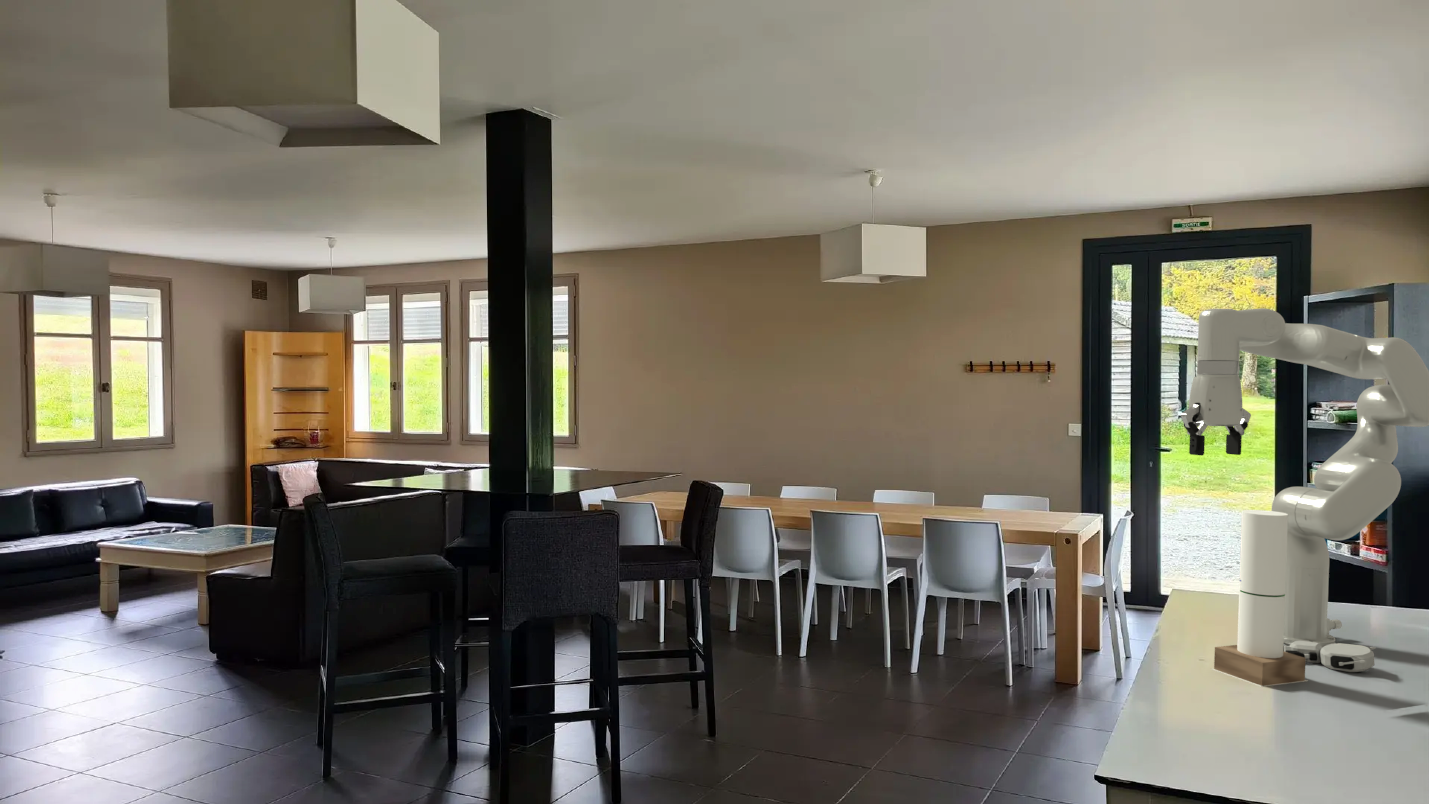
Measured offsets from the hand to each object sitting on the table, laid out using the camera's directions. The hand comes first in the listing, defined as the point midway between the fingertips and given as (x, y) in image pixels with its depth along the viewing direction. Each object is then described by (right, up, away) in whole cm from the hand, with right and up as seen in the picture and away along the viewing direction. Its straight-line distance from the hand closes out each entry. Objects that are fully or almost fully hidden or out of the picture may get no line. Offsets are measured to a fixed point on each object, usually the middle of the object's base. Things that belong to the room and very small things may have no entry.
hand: (1215, 454), depth 197 cm
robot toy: (+13, -39, -15) cm, 44 cm away
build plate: (-4, -39, -24) cm, 46 cm away
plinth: (-4, -38, -24) cm, 45 cm away
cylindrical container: (-4, -34, -24) cm, 42 cm away
